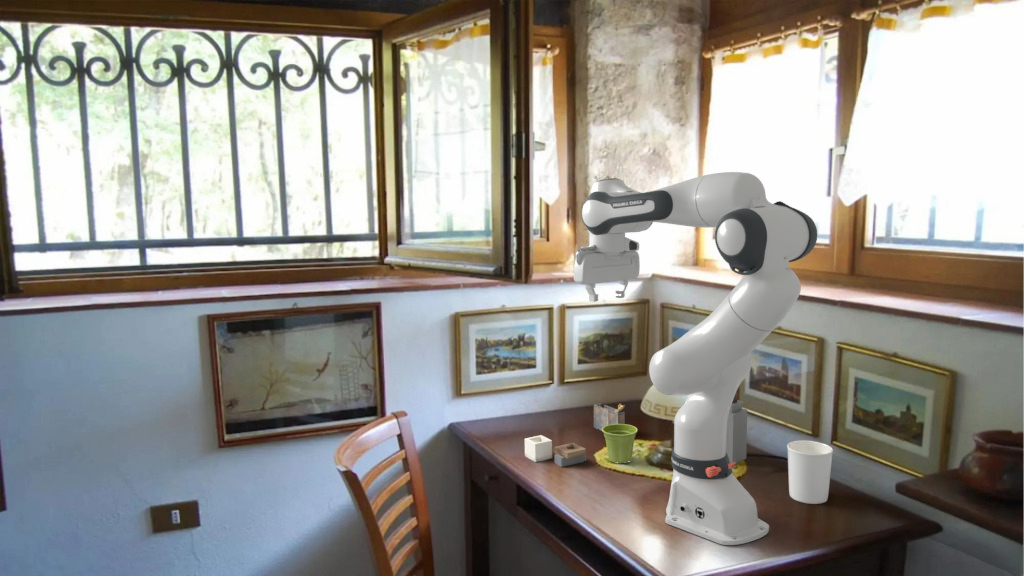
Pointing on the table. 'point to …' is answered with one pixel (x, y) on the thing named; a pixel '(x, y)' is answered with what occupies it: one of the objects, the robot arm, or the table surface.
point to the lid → (570, 450)
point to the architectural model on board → (608, 416)
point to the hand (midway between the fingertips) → (607, 299)
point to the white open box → (538, 448)
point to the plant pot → (619, 441)
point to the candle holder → (809, 471)
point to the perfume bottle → (736, 431)
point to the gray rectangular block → (568, 460)
